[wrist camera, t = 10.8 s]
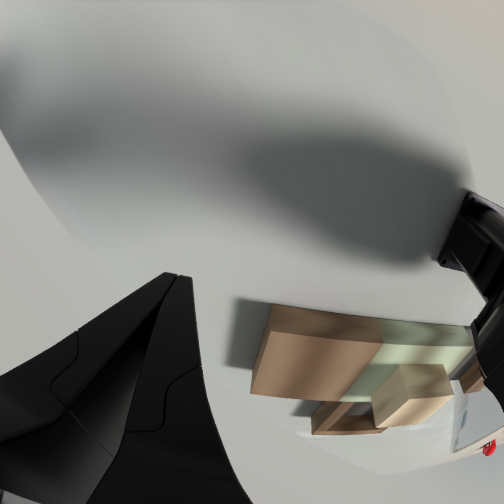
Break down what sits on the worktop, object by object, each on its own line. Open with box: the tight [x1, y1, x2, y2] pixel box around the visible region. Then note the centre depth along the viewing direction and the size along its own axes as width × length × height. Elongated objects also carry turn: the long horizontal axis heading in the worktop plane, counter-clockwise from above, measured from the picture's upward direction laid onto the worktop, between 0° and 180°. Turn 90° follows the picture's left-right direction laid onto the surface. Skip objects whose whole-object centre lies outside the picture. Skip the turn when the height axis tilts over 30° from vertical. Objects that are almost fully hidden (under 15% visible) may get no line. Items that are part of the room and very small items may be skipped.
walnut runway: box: [250, 304, 485, 435], centre depth 27 cm, size 34×20×3 cm, turn 81°
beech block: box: [371, 364, 454, 428], centre depth 22 cm, size 6×6×4 cm
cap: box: [483, 439, 496, 456], centre depth 59 cm, size 8×6×6 cm
